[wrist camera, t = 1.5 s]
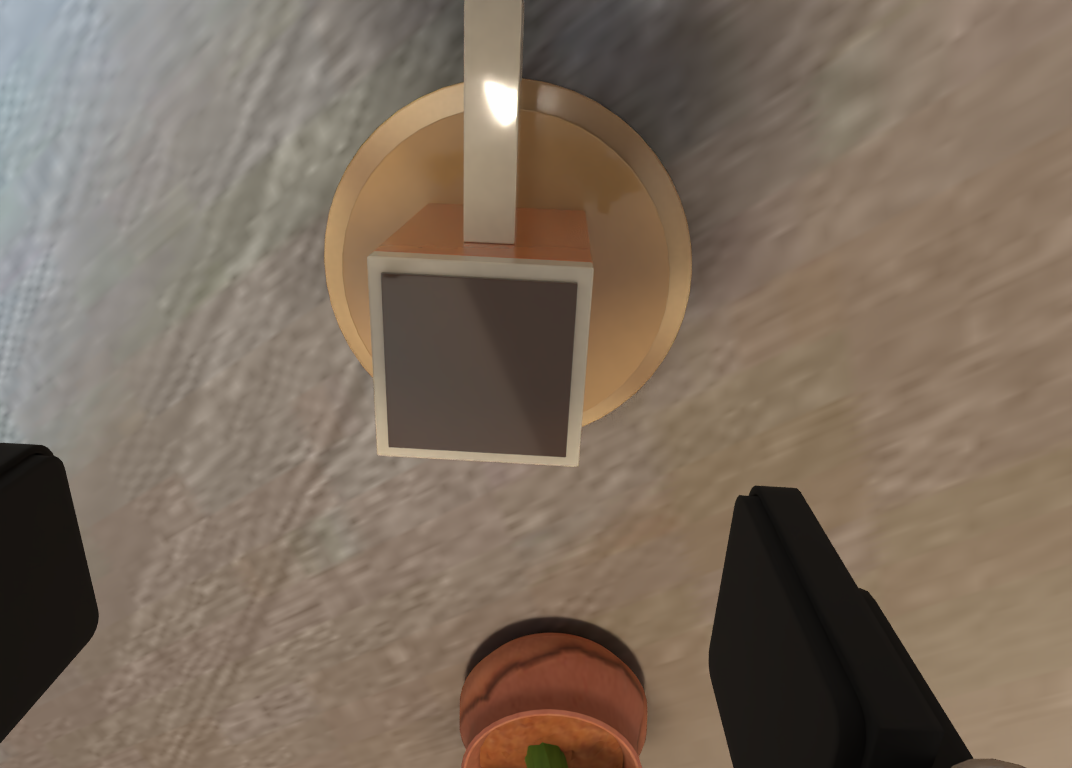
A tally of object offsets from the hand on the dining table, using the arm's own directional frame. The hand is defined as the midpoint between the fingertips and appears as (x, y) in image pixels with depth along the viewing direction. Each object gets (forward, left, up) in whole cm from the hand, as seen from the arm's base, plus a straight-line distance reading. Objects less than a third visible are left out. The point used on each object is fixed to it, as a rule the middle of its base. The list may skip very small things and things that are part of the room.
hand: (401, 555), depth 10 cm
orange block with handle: (0, 0, -20) cm, 20 cm away
